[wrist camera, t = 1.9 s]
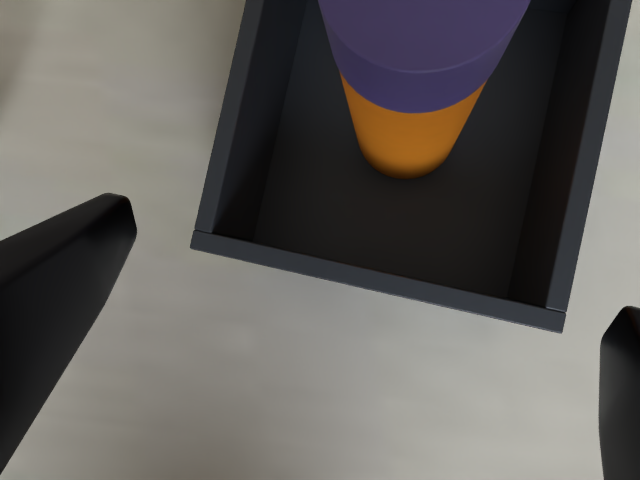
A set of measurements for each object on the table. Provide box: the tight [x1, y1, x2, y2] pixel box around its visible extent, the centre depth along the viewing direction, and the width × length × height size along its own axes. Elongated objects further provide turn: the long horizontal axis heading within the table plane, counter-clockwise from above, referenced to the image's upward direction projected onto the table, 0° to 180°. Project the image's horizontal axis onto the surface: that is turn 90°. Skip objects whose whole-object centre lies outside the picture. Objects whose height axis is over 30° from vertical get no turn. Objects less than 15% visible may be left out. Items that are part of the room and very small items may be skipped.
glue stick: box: [318, 0, 531, 179], centre depth 15 cm, size 4×4×12 cm
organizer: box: [190, 0, 632, 333], centre depth 18 cm, size 12×11×6 cm
